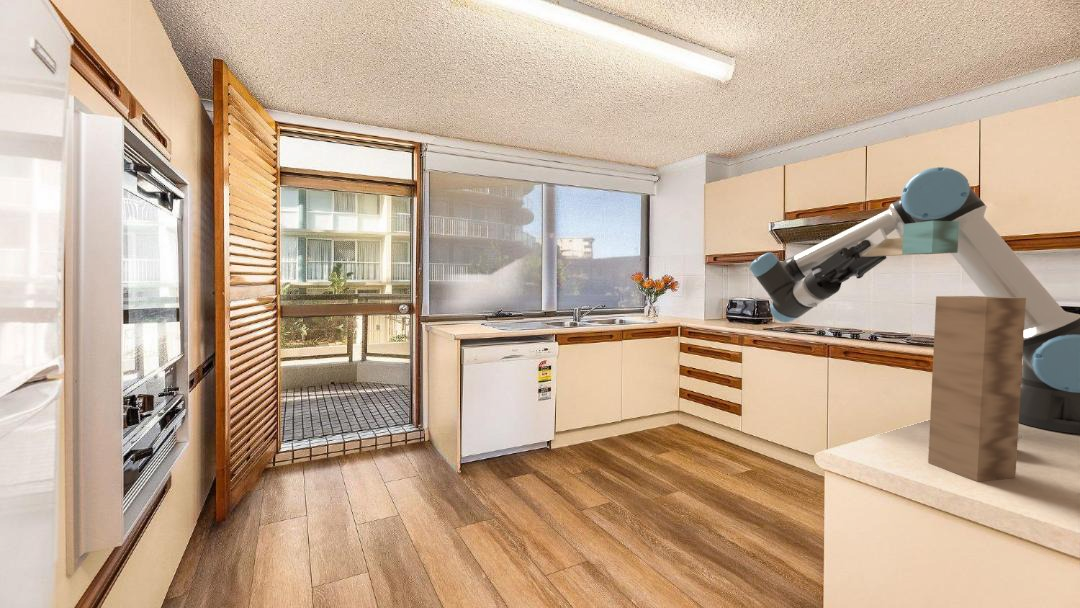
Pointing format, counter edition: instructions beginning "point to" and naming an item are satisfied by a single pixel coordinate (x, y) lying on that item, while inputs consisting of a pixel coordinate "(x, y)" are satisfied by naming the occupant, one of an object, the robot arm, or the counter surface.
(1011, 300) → the stand
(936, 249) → the mallet
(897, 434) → the counter surface
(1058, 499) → the counter surface
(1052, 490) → the counter surface
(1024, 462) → the counter surface
